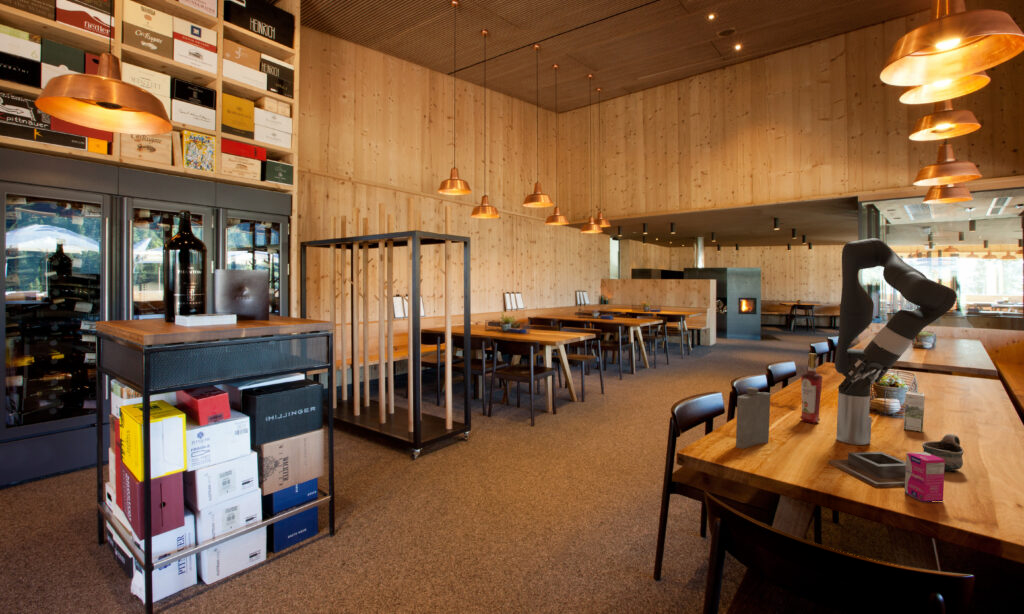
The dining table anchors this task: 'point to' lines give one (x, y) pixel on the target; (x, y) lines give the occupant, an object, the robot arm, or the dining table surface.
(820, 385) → the liquor
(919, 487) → the supplement box
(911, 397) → the syrup box
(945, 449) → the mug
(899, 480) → the socket
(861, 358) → the robot arm
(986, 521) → the dining table surface
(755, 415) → the hip flask
